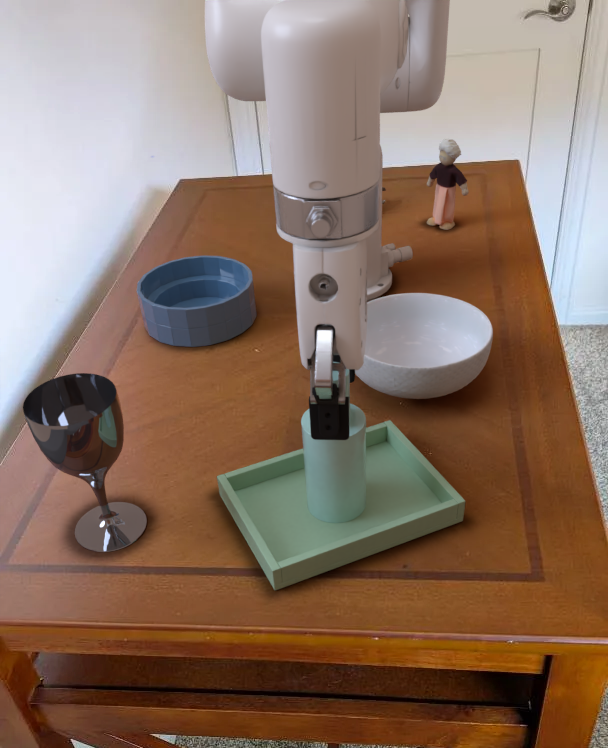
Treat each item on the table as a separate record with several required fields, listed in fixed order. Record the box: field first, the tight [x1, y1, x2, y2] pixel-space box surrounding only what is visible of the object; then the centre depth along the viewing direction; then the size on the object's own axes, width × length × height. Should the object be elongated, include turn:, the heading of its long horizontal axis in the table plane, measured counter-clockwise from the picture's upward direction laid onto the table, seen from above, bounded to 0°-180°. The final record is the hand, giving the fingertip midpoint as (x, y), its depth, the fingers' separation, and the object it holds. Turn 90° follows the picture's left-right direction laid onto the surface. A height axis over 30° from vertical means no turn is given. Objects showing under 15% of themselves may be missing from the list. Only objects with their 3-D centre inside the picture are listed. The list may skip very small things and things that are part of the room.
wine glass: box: [22, 372, 148, 553], centre depth 71 cm, size 8×8×15 cm
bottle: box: [300, 362, 367, 523], centre depth 70 cm, size 6×6×15 cm
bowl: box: [136, 255, 258, 348], centre depth 102 cm, size 15×15×6 cm
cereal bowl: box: [355, 292, 494, 400], centre depth 89 cm, size 17×17×7 cm
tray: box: [216, 419, 466, 591], centre depth 75 cm, size 20×15×3 cm
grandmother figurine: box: [426, 138, 470, 231], centre depth 117 cm, size 8×4×13 cm, turn 55°
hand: (334, 407), depth 68 cm, fingers open, 7 cm apart
